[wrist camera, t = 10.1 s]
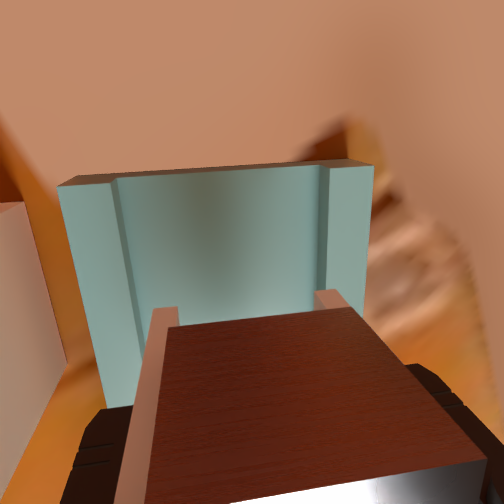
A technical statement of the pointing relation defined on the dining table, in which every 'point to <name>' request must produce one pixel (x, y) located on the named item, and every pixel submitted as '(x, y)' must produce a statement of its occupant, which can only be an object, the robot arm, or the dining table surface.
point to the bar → (301, 419)
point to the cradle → (211, 248)
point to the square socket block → (23, 339)
